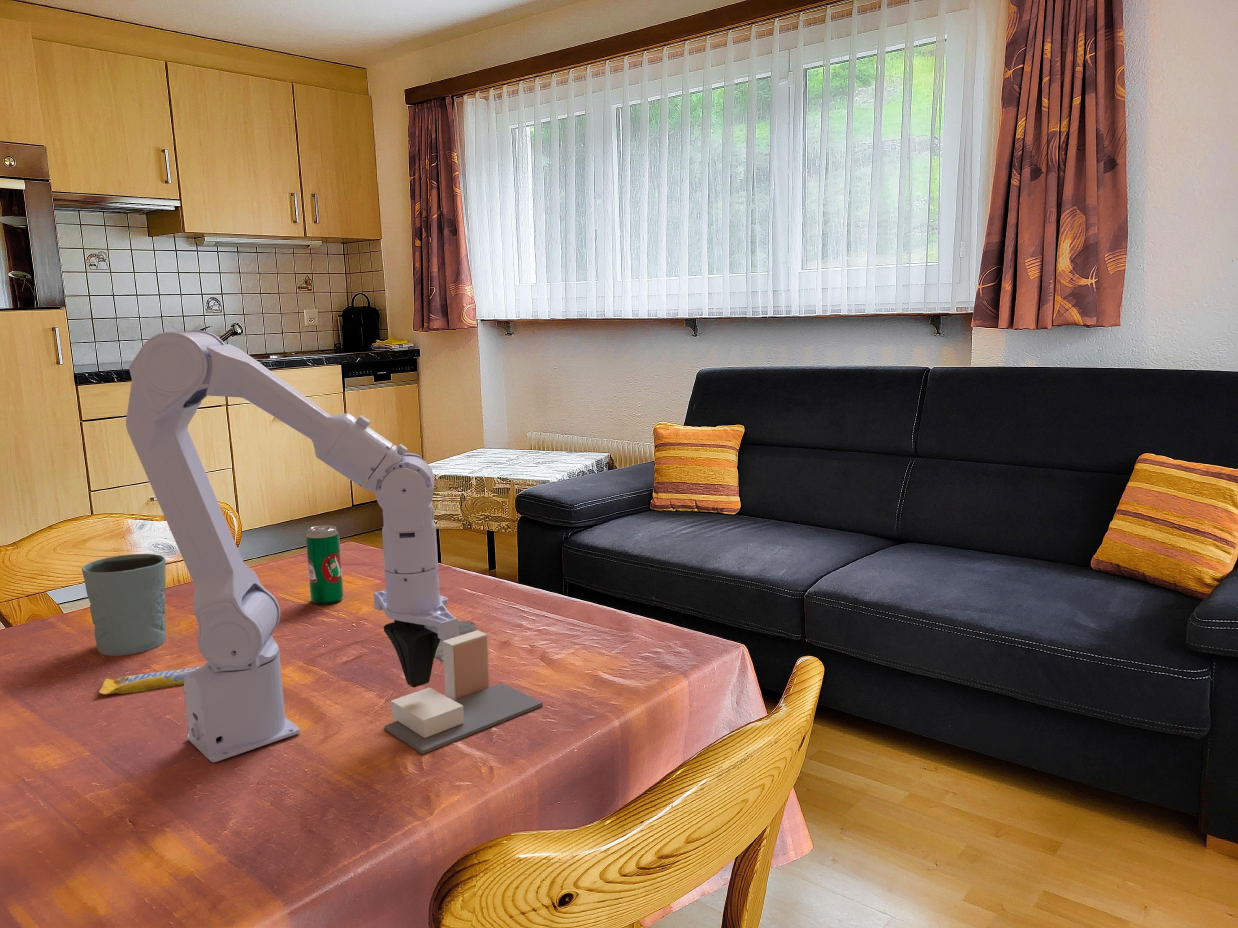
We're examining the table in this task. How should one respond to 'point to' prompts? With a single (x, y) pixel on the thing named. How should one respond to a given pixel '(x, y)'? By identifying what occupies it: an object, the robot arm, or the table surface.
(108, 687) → the candy bar
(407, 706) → the beige flat block
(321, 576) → the soda can
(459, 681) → the tan upright block
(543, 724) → the table surface
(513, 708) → the mat
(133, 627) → the grey green cup
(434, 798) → the table surface
